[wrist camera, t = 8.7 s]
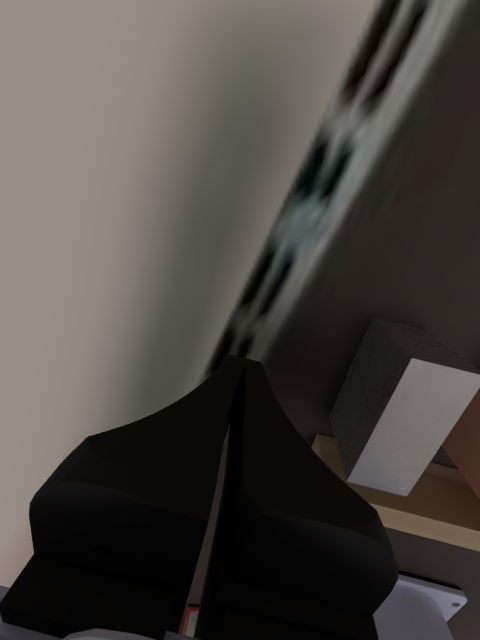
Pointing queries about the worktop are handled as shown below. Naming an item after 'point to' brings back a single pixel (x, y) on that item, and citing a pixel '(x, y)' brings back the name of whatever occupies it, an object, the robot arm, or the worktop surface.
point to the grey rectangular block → (399, 405)
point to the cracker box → (190, 621)
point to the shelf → (419, 501)
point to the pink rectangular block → (467, 443)
